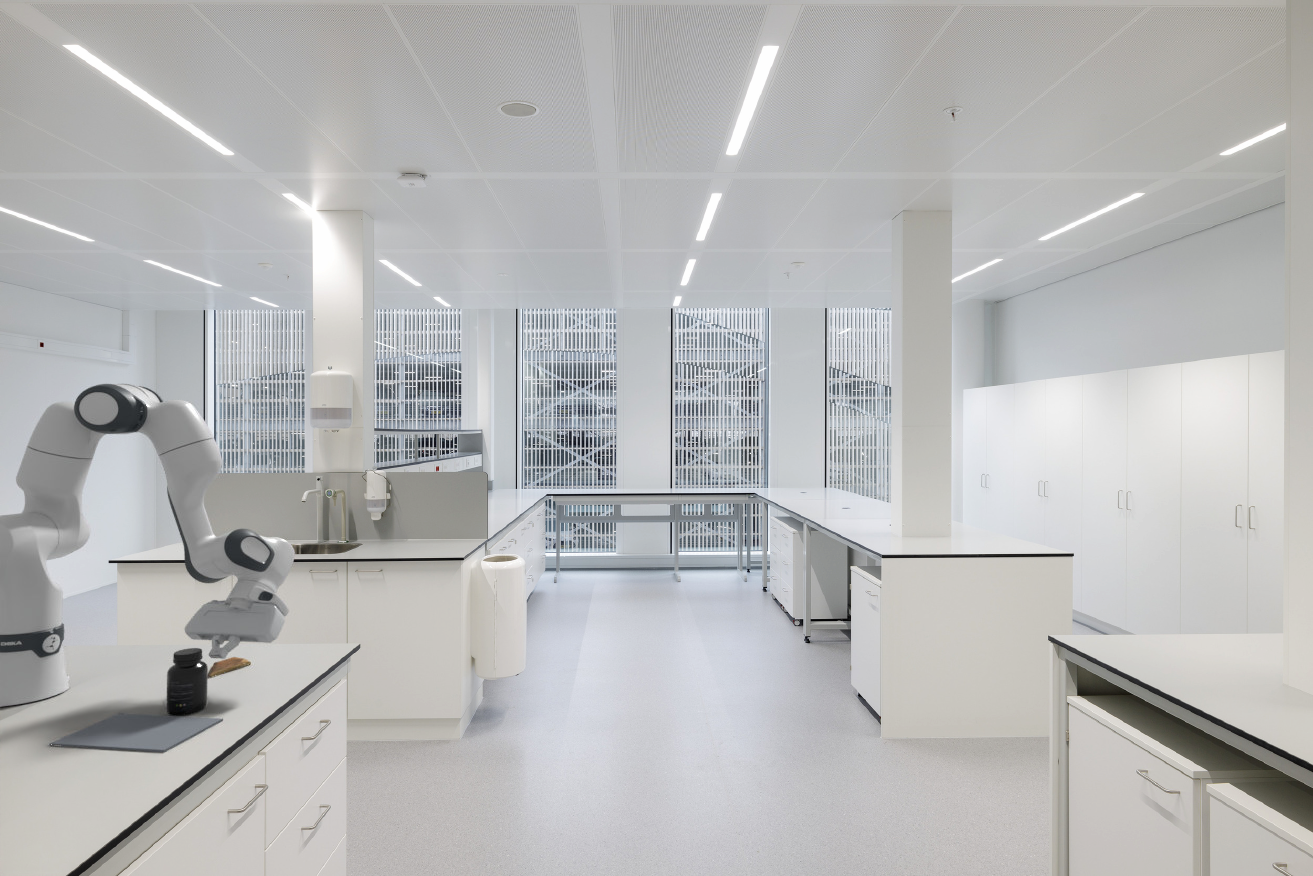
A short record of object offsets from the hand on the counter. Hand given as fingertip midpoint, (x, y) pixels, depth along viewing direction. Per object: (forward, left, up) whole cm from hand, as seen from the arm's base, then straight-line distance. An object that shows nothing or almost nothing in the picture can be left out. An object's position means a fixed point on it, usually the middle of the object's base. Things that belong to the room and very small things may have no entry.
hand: (216, 657), depth 144 cm
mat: (0, -19, -8) cm, 21 cm away
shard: (-10, +18, -9) cm, 22 cm away
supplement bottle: (0, -8, -9) cm, 12 cm away
